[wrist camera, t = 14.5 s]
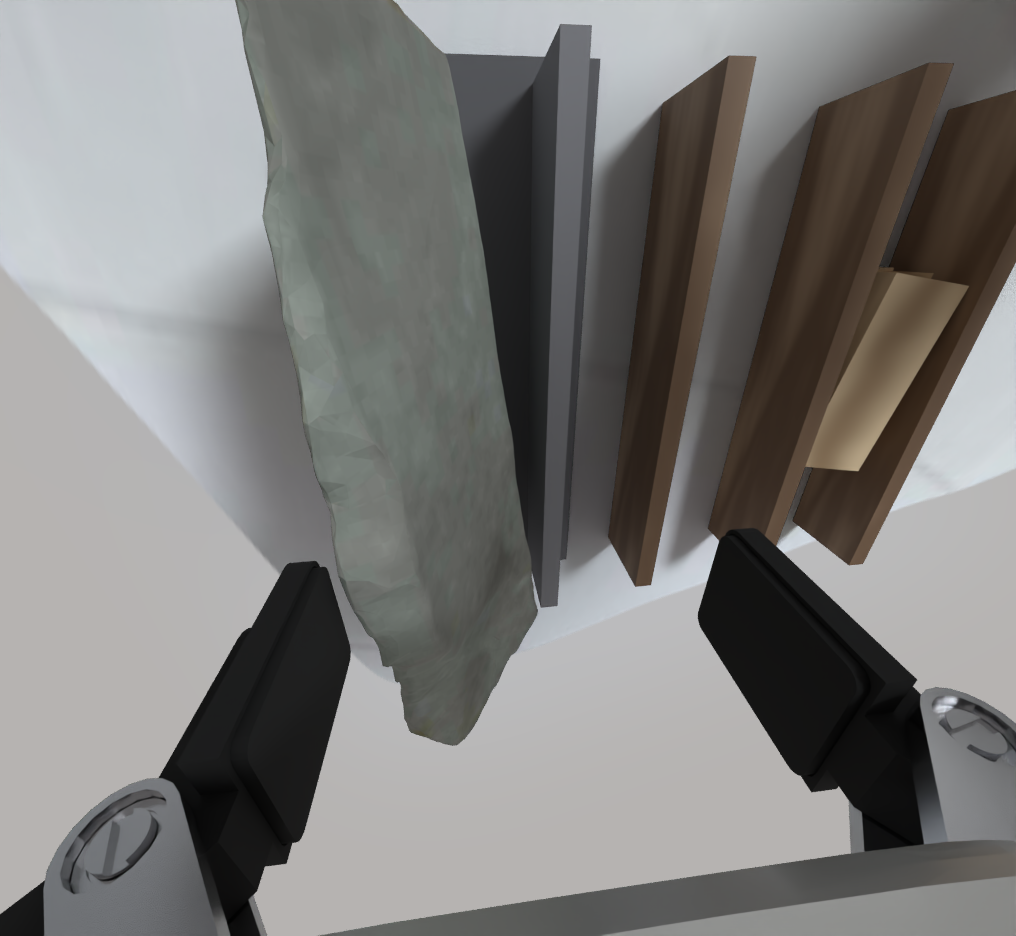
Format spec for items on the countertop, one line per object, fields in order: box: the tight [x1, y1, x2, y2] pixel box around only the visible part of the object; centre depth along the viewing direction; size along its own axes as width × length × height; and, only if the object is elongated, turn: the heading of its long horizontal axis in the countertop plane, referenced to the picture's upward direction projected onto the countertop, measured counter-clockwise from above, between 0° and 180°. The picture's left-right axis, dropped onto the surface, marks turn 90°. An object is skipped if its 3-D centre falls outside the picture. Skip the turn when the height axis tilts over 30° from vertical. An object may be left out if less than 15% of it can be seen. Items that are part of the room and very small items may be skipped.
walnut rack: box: [608, 56, 1016, 587], centre depth 27 cm, size 19×29×6 cm, turn 1°
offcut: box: [805, 272, 969, 471], centre depth 26 cm, size 5×12×2 cm, turn 172°
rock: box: [235, 0, 538, 746], centre depth 18 cm, size 27×6×20 cm, turn 6°
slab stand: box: [445, 24, 600, 608], centre depth 25 cm, size 14×32×7 cm, turn 1°
